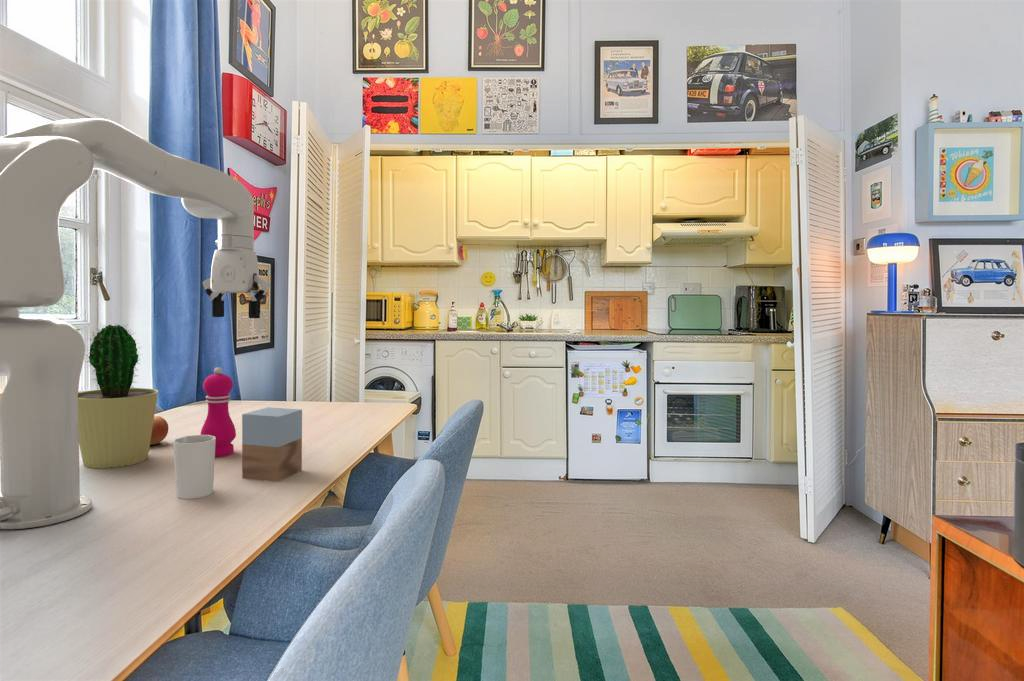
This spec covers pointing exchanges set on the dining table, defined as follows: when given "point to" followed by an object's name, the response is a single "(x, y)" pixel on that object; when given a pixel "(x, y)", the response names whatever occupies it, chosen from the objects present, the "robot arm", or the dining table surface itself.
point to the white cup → (194, 465)
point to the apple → (158, 430)
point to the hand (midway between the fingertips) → (236, 317)
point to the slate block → (271, 426)
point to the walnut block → (271, 461)
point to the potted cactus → (115, 404)
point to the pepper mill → (219, 412)
